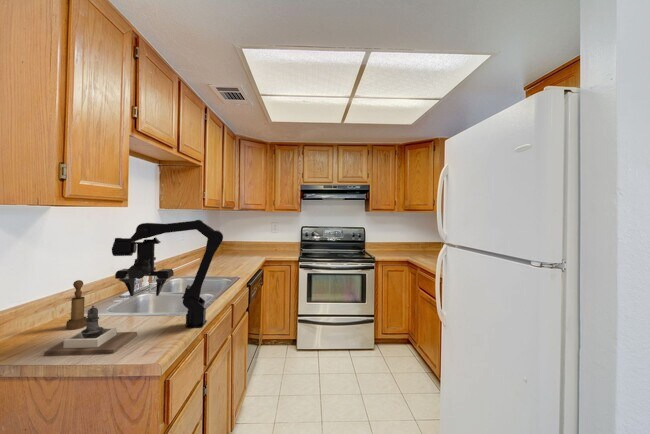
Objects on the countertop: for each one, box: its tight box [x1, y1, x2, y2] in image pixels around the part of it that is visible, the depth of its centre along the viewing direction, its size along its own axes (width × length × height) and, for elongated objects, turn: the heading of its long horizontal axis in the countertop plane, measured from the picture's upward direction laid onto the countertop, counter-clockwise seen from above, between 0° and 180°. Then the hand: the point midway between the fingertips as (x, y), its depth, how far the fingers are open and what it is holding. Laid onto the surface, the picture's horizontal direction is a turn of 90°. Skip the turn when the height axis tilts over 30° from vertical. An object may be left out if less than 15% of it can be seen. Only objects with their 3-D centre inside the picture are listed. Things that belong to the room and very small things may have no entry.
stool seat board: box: [43, 327, 138, 356], centre depth 97 cm, size 20×14×4 cm
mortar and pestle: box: [65, 279, 87, 330], centre depth 112 cm, size 7×6×18 cm
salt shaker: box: [81, 305, 104, 339], centre depth 97 cm, size 6×6×12 cm
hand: (144, 296), depth 110 cm, fingers open, 9 cm apart
